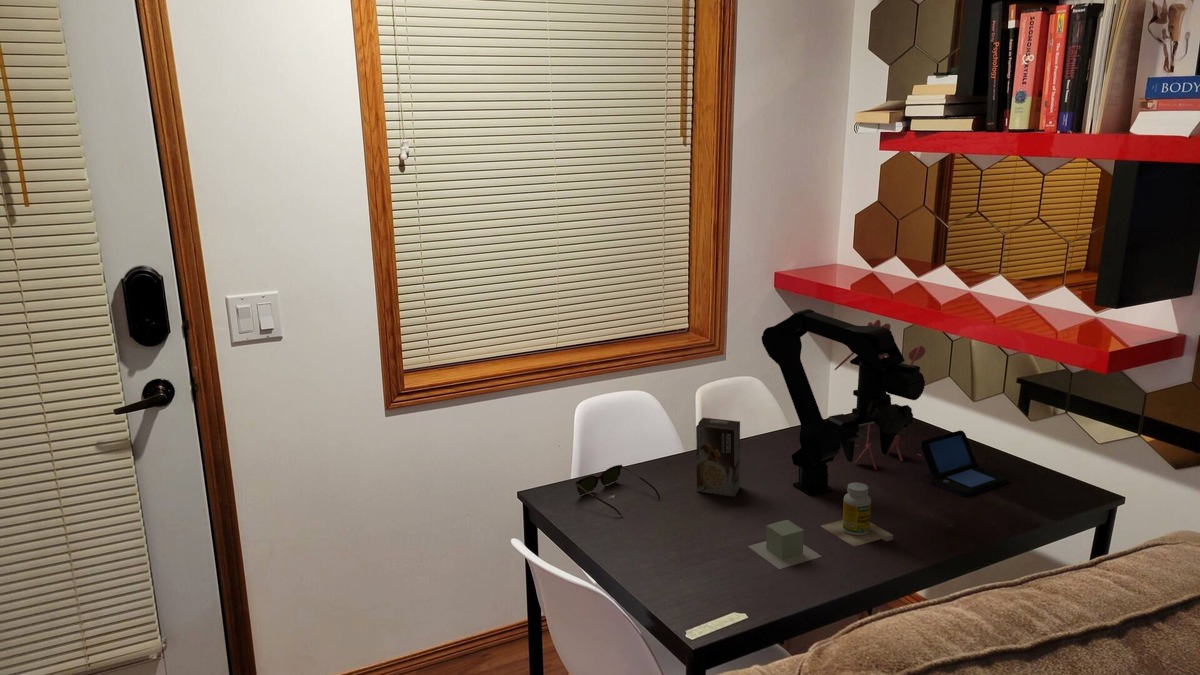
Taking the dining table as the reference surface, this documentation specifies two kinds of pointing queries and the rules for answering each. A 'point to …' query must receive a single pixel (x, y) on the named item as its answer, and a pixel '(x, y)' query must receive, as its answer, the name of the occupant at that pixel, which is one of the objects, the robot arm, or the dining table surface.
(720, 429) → the coffee box
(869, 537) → the birch pad
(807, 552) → the grey pad
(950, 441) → the handheld game console
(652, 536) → the dining table surface
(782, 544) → the sage block
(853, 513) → the supplement bottle
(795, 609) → the dining table surface
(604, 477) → the sunglasses
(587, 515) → the dining table surface
